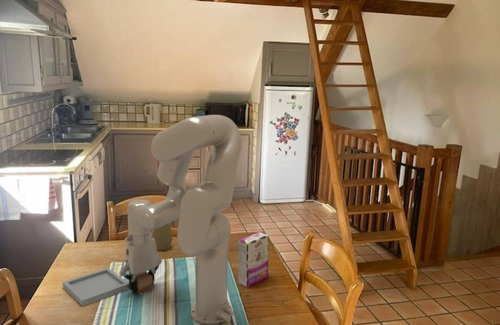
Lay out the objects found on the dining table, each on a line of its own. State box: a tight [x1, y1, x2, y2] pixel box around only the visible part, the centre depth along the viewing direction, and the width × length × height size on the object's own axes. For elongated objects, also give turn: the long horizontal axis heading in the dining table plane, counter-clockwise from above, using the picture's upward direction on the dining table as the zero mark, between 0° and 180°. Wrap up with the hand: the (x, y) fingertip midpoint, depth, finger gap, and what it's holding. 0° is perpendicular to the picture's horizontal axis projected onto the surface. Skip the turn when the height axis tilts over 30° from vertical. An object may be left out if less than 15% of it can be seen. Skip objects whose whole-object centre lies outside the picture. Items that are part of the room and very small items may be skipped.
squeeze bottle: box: [152, 223, 173, 251], centre depth 166 cm, size 8×8×18 cm
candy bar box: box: [237, 231, 270, 288], centre depth 140 cm, size 11×5×16 cm, turn 136°
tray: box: [62, 267, 130, 307], centre depth 133 cm, size 16×16×2 cm
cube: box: [135, 271, 154, 295], centre depth 133 cm, size 5×5×5 cm
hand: (142, 287), depth 133 cm, fingers open, 5 cm apart
